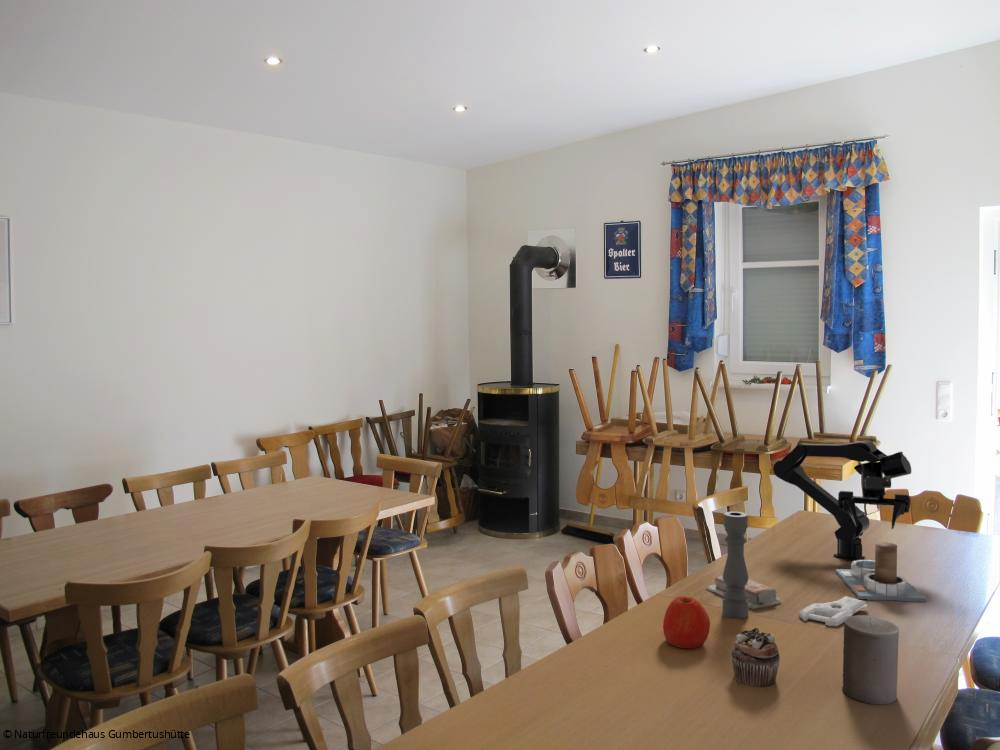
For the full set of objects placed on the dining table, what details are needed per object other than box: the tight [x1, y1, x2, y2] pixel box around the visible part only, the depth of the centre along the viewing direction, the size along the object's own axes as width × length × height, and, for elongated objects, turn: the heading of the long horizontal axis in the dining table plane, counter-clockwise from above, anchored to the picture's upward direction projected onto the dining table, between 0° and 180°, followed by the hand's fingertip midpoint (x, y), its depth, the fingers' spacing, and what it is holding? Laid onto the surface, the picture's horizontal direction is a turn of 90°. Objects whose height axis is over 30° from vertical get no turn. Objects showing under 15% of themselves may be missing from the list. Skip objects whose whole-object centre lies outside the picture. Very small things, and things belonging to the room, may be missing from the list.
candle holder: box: [722, 511, 749, 620], centre depth 198 cm, size 6×6×25 cm
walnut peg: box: [874, 541, 898, 584], centre depth 212 cm, size 5×5×12 cm
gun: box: [798, 595, 869, 627], centre depth 198 cm, size 18×3×10 cm
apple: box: [662, 596, 711, 649], centre depth 181 cm, size 10×10×10 cm
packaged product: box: [705, 573, 782, 610], centre depth 212 cm, size 18×5×10 cm
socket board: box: [835, 559, 927, 603], centre depth 218 cm, size 23×16×4 cm
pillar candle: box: [841, 614, 900, 705], centre depth 155 cm, size 10×10×15 cm
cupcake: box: [729, 627, 781, 688], centre depth 163 cm, size 10×10×10 cm
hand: (874, 526), depth 228 cm, fingers open, 9 cm apart
